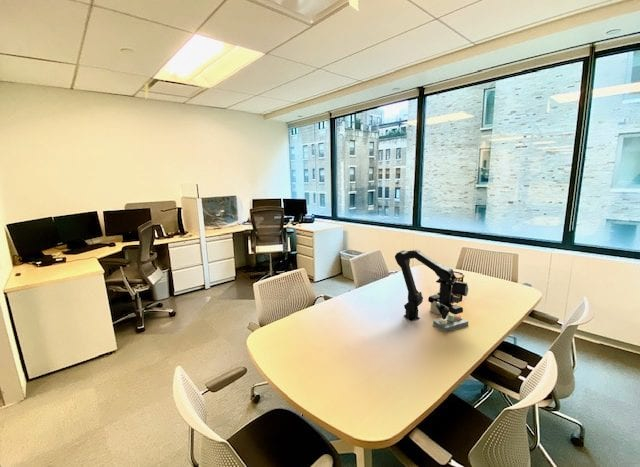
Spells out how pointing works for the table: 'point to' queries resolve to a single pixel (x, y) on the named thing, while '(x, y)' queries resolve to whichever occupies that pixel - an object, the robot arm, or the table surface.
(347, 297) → the table surface
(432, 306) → the teacup with lid
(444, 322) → the cream button
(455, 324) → the panel
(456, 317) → the terracotta button
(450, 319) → the sage button
